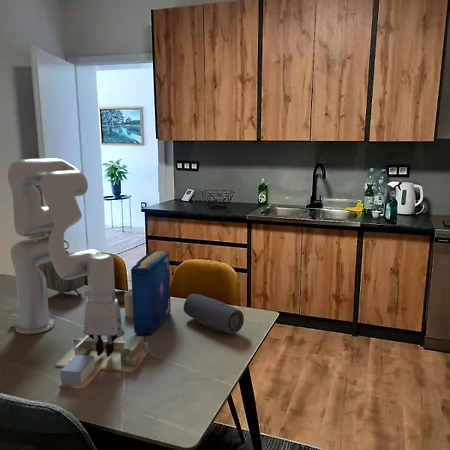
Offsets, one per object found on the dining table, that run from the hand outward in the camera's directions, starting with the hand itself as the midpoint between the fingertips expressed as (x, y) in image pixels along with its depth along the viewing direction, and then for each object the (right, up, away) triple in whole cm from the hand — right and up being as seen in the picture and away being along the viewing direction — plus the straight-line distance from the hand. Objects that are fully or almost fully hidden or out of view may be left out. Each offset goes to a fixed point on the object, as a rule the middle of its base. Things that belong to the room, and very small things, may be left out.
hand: (105, 353), depth 132 cm
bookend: (-8, -1, +1) cm, 8 cm away
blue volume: (+10, +3, +26) cm, 28 cm away
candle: (+1, +4, +34) cm, 35 cm away
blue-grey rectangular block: (-4, -3, -10) cm, 12 cm away
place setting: (-3, +6, +46) cm, 46 cm away
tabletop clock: (-32, +8, +54) cm, 63 cm away
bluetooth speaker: (+32, +2, +24) cm, 40 cm away
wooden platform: (-1, -3, -4) cm, 5 cm away
